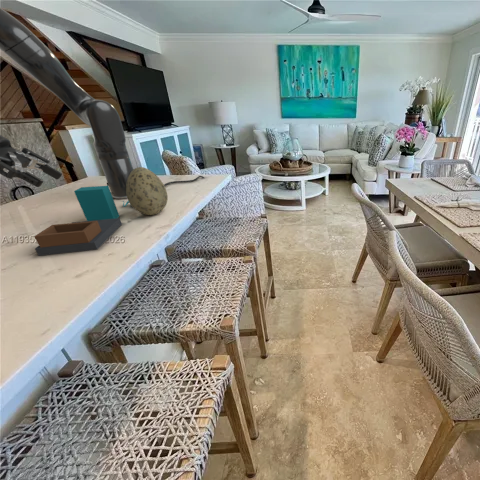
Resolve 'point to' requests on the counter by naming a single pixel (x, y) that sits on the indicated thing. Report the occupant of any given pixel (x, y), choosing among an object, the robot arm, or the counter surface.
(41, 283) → the counter surface
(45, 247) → the brown tray on base
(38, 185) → the robot arm
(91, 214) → the teal rectangular block
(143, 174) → the decorative egg
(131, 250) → the counter surface
